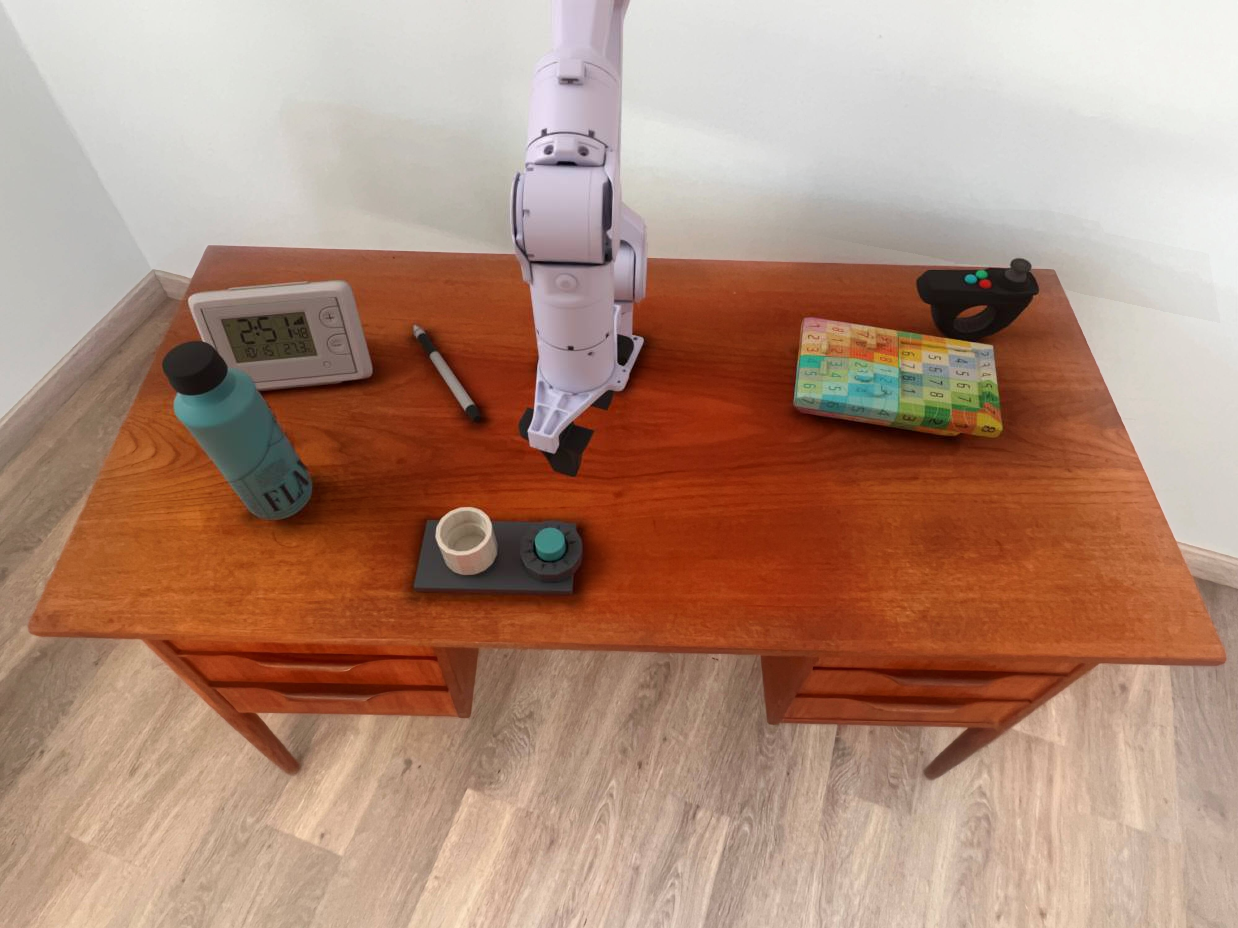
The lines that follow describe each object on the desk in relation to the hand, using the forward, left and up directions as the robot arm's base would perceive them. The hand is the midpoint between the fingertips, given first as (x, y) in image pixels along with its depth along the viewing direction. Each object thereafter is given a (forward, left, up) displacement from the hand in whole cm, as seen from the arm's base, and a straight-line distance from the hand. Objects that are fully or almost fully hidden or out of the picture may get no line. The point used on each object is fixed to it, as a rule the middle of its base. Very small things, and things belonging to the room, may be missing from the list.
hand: (582, 437), depth 64 cm
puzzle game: (+26, +23, -10) cm, 36 cm away
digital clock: (-35, +5, -10) cm, 37 cm away
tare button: (0, -8, -7) cm, 10 cm away
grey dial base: (-5, -9, -9) cm, 14 cm away
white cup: (-7, -10, -8) cm, 15 cm away
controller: (+32, +35, -10) cm, 48 cm away
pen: (-20, +10, -10) cm, 24 cm away
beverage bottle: (-27, -10, -10) cm, 30 cm away
